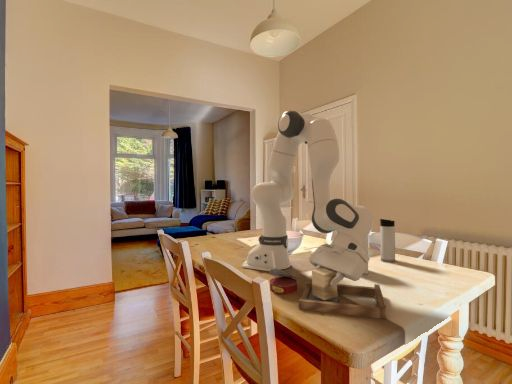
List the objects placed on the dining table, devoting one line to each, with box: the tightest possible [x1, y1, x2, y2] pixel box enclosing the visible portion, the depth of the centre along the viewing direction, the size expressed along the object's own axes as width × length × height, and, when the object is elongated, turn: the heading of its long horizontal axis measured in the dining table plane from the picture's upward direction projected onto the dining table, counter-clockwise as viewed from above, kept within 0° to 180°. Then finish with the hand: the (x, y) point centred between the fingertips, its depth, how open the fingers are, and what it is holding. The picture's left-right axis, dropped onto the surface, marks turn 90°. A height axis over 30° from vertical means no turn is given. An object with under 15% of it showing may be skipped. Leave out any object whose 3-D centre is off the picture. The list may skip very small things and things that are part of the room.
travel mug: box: [379, 218, 396, 263], centre depth 131 cm, size 6×7×20 cm
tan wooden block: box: [311, 267, 338, 300], centre depth 89 cm, size 6×6×8 cm
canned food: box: [268, 269, 298, 295], centre depth 100 cm, size 11×10×10 cm
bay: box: [298, 281, 387, 320], centre depth 88 cm, size 24×17×4 cm
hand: (323, 282), depth 89 cm, fingers closed on tan wooden block, 5 cm apart
